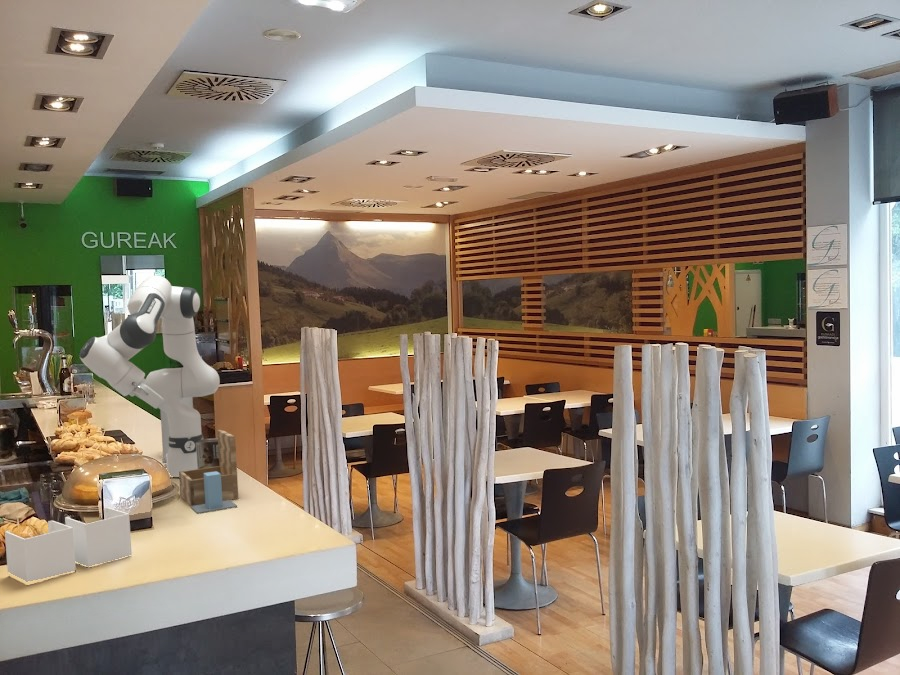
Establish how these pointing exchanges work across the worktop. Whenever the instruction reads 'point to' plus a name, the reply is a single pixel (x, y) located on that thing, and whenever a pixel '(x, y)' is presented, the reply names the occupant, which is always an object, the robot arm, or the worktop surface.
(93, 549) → the white twin bins
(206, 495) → the block
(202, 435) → the robot arm
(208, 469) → the caddy
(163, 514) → the worktop surface
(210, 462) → the grey brown upright frame
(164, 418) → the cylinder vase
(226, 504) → the mat
